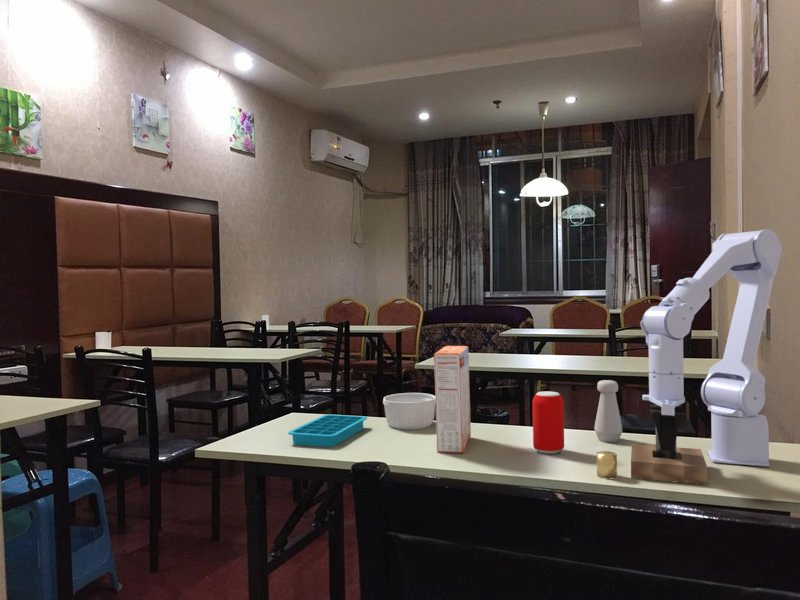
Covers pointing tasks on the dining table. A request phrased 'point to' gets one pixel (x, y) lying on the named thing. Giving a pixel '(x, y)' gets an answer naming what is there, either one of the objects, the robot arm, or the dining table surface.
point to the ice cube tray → (327, 430)
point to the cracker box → (452, 399)
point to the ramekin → (409, 410)
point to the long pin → (664, 451)
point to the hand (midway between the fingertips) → (666, 447)
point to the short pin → (606, 464)
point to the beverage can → (548, 422)
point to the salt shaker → (608, 413)
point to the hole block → (669, 465)
